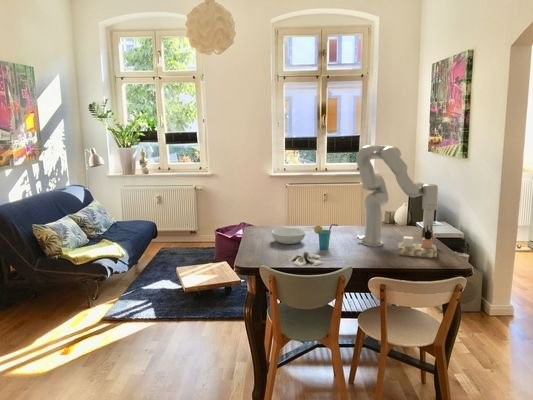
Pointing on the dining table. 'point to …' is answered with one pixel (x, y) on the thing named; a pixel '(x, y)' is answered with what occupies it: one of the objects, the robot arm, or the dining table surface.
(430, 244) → the terracotta key
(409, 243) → the ivory key
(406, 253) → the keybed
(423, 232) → the condiment
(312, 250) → the dining table surface
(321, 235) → the cup
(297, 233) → the serving bowl
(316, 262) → the cloth
